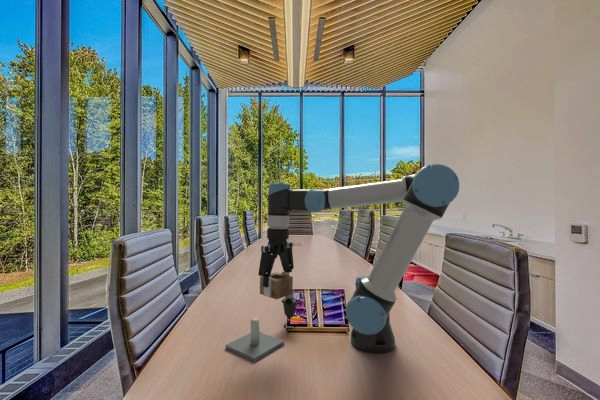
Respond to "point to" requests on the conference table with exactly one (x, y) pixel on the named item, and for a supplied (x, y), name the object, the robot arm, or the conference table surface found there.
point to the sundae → (289, 306)
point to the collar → (278, 285)
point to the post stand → (254, 343)
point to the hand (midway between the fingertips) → (276, 293)
